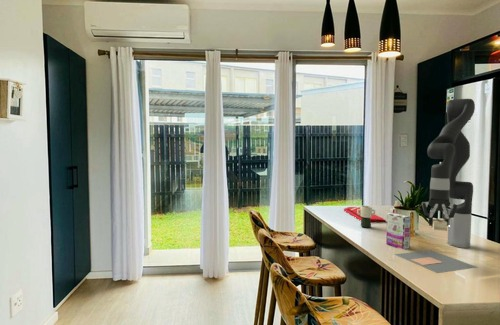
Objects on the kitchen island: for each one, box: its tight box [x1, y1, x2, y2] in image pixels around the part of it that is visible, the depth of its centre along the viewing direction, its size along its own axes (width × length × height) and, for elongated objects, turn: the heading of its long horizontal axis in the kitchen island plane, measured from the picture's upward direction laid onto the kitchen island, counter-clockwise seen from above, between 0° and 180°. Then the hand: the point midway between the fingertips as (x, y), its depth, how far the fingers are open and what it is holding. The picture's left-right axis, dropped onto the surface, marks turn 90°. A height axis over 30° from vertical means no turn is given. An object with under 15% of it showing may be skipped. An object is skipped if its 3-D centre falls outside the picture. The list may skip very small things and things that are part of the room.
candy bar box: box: [386, 212, 412, 250], centre depth 170 cm, size 11×5×16 cm, turn 23°
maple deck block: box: [430, 217, 448, 232], centre depth 149 cm, size 9×5×4 cm, turn 161°
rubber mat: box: [394, 249, 478, 274], centre depth 149 cm, size 24×22×1 cm
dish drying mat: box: [343, 206, 387, 223], centre depth 243 cm, size 16×41×4 cm, turn 3°
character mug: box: [357, 205, 376, 228], centre depth 211 cm, size 11×7×13 cm, turn 82°
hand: (438, 226), depth 149 cm, fingers closed on maple deck block, 5 cm apart
